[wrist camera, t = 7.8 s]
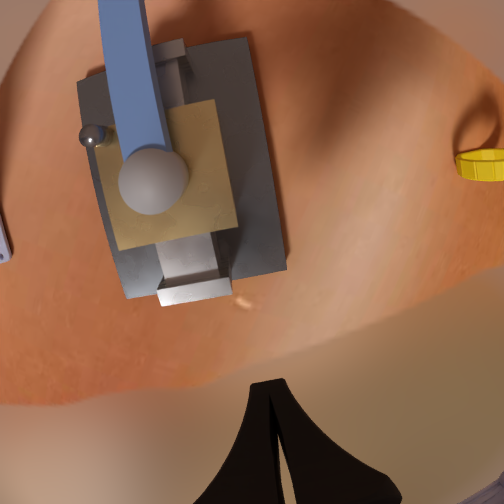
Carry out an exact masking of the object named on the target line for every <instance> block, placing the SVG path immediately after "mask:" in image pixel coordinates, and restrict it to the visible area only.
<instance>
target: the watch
mask: <svg viewBox="0 0 504 504" xmlns="http://www.w3.org/2000/svg"><path fill="white" fill-rule="evenodd" d="M455 160H456V166H457V173H458V175H460V176H461V177H463V178H466V179H471V180H476V181H477V180H478V181H494V180H495V181H503V180H504V148H494V149H493V148H488V149H478V150H474V151H470V152H465V153H461V154H458V155H457V156H456V157H455Z"/></svg>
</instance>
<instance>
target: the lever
mask: <svg viewBox="0 0 504 504" xmlns="http://www.w3.org/2000/svg"><path fill="white" fill-rule="evenodd" d="M98 8H99V19H100V29H101V37H102V46H103V53H104V60H105V67H106V74H107V80H108V86H109V92H110V98H111V103H112V109H113V114H114V119H115V124H116V129H117V134H118V139H119V143H120V148H121V152H122V157H123V161H124V164H123V166H122V168H121V170H120V173H119V179H118V184H119V191H120V194H121V196H122V198H123V200H124V201H125V203H126V204H127V205H128V206H129V207H130V208H131V209H133V210H134V211H136V212H138V213H141V214H146V215H154V214H159V213H162V212H164V211H166V210H167V209H169V208H170V207H171V206H172V205H173V204H174V203H175V202H176V201H177V200H178V199H179V198H180V197H181V196H182V195H183V193H184V192H185V190H186V188H187V185H188V180H189V173H188V168H187V166H186V163H185V162H184V160H183V159H182V158H181V157H180V156H179V155H178V154H177V153H175V152H174V151H173V150H172V145H171V141H170V136H169V132H168V127H167V122H166V118H165V113H164V108H163V103H162V98H161V94H160V88H159V83H158V78H157V73H156V68H155V62H154V57H153V51H152V46H151V40H150V34H149V28H148V22H147V16H146V9H145V3H144V0H98Z"/></svg>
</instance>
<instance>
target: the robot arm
mask: <svg viewBox="0 0 504 504" xmlns="http://www.w3.org/2000/svg"><path fill="white" fill-rule="evenodd" d="M2 254H3V256H2ZM3 257H4V258H3ZM11 258H12V254H11V250H10V247H9V244H8V240H7V237H6V234H5V230H4V226H3V223H2V219H1V215H0V263H3V262H7V261H9V260H10V259H11ZM278 436H279V440H280V443H281V446H282V450H283V453H284V456H285V459H286V463H287V465H288V469H289V472H290V475H291V480H292V483H293V488H294V494H295V498H296V503H297V504H400V503H401V501H402V496H401V493H400V492H399V490H398V488H397V487H396V486H395V484H394V483H393V482H392V480H391V479H390V478H389V477H388V476H387V475H385V474H383V473H381V472H379V471H377V470H375V469H373V468H371V467H369V466H368V465H366V464H364V463H362V462H361V461H359V460H358V459H356V458H355V457H353V456H352V455H351V454H349V453H348V452H346V451H345V450H344V449H342V448H341V447H340V446H338V445H337V444H336V443H335V442H333V441H332V440H331V439H330V438H329V437H328V436H327V435H326V434H325V433H323V432H322V430H321V429H320V428H319V427H318V426H317V425H316V424H315V423H314V422H313V421H312V420H311V419H310V418H309V416H308V415H307V414H306V413H305V412H304V410H303V409H302V408H301V406H300V405H299V403H298V402H297V401H296V399H295V398H294V396H293V394H292V393H291V391H290V390H289V388H288V386H287V383H286V381H285V379H283V378H280V379H274V380H269V381H264V382H258V383H253V384H251V385H250V392H249V399H248V403H247V408H246V411H245V415H244V418H243V422H242V424H241V427H240V430H239V432H238V435H237V438H236V440H235V442H234V444H233V447H232V449H231V451H230V453H229V455H228V457H227V458H226V460H225V462H224V463H223V465H222V467H221V469H220V470H219V472H218V473H217V475H216V476H215V478H214V479H213V481H212V482H211V483H210V484H209V486H208V487H207V488H206V490H205V491H204V492H203V493H202V495H201V496H200V497H199V498H198V499H197V500H196V501H195V502H194V503H193V504H285V500H284V495H283V489H282V483H281V474H280V461H279V445H278ZM458 504H504V471H503V472H502V474H501V475H500V476H499V478H498V479H497V480H496V481H494V482H493V483H491V484H489V485H488V486H486V487H485V488H483V489H482V490H480V491H479V492H477V493H475V494H474V495H472V496H471V497H469V498H467V499H465V500H464V501H462V502H460V503H458Z"/></svg>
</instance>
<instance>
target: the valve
mask: <svg viewBox="0 0 504 504" xmlns="http://www.w3.org/2000/svg"><path fill="white" fill-rule="evenodd" d="M152 51H153V57H154V62H155V68H156V73H157V78H158V83H159V88H160V94H161V98H162V103H163V108H164V113H165V118H166V122H167V127H168V132H169V136H170V141H171V145H172V150H173V151H174V152H175V153H177V154H178V155H179V156H180V157H181V158H182V159H183V160H184V162H185V163H186V166H187V168H188V173H189V180H188V185H187V188H186V190H185V192H184V193H183V195H182V196H181V197H180V198H179V199H178V200H177V201H176V202H175V203H174V204H173V205H172V206H171V207H170V208H169V209H167V210H166V211H164V212H162V213H159V214H154V215H146V214H141V213H138V212H136V211H134V210H133V209H131V208H130V207H129V206H128V205H127V204H126V203H125V201H124V200H123V198H122V196H121V194H120V191H119V184H118V179H119V173H120V170H121V168H122V166H123V164H124V161H123V157H122V152H121V148H120V143H119V139H118V134H117V129H116V124H115V119H114V114H113V109H112V103H111V98H110V92H109V86H108V80H107V74H106V71H104V72H101V73H98V74H95V75H93V76H90V77H88V78H85V79H83V80H80V81H78V82H77V91H78V99H79V106H80V114H81V120H82V129H81V130H80V133H79V140H80V143H81V144H82V145H83V146H85V147H86V150H87V155H88V160H89V165H90V170H91V175H92V179H93V184H94V188H95V192H96V197H97V201H98V205H99V209H100V213H101V217H102V220H103V224H104V228H105V232H106V235H107V239H108V242H109V246H110V249H111V252H112V256H113V259H114V262H115V265H116V269H117V272H118V275H119V278H120V281H121V284H122V287H123V290H124V293H125V296H126V298H127V299H129V298H135V297H141V296H147V295H153V294H158V297H159V300H160V303H161V306H167V305H173V304H179V303H185V302H191V301H197V300H202V299H208V298H214V297H219V296H225V295H230V294H233V293H232V280H237V279H242V278H247V277H252V276H258V275H263V274H268V273H273V272H278V271H284V270H287V265H286V258H285V252H284V245H283V238H282V232H281V225H280V219H279V212H278V206H277V200H276V194H275V187H274V181H273V175H272V169H271V164H270V158H269V152H268V146H267V140H266V135H265V129H264V124H263V118H262V113H261V107H260V102H259V97H258V91H257V86H256V81H255V76H254V71H253V65H252V60H251V55H250V50H249V46H248V41H247V37H243V38H236V39H229V40H223V41H217V42H212V43H206V44H201V45H196V46H191V47H186V45H185V42H184V40H183V38H181V39H176V40H172V41H168V42H164V43H160V44H157V45H153V46H152Z"/></svg>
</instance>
